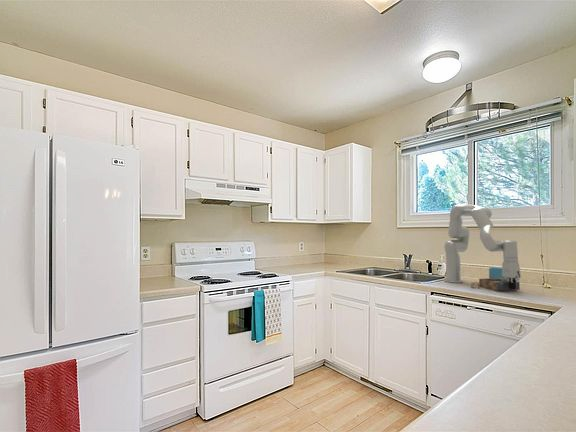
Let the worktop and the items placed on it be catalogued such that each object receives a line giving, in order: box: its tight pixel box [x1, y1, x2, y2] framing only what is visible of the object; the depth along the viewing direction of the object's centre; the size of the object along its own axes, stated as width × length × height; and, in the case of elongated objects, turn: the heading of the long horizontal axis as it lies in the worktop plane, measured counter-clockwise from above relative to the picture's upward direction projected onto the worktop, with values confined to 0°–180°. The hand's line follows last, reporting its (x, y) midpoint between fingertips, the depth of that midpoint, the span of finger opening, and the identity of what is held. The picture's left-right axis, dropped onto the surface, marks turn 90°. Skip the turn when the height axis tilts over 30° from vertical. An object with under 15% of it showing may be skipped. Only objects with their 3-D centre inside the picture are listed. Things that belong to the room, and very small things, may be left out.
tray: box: [494, 281, 521, 291], centre depth 206 cm, size 16×15×5 cm
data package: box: [488, 266, 507, 280], centre depth 224 cm, size 12×4×12 cm, turn 51°
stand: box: [470, 281, 480, 289], centre depth 210 cm, size 5×5×4 cm
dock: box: [478, 278, 518, 292], centre depth 207 cm, size 16×14×6 cm
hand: (512, 288), depth 196 cm, fingers closed
